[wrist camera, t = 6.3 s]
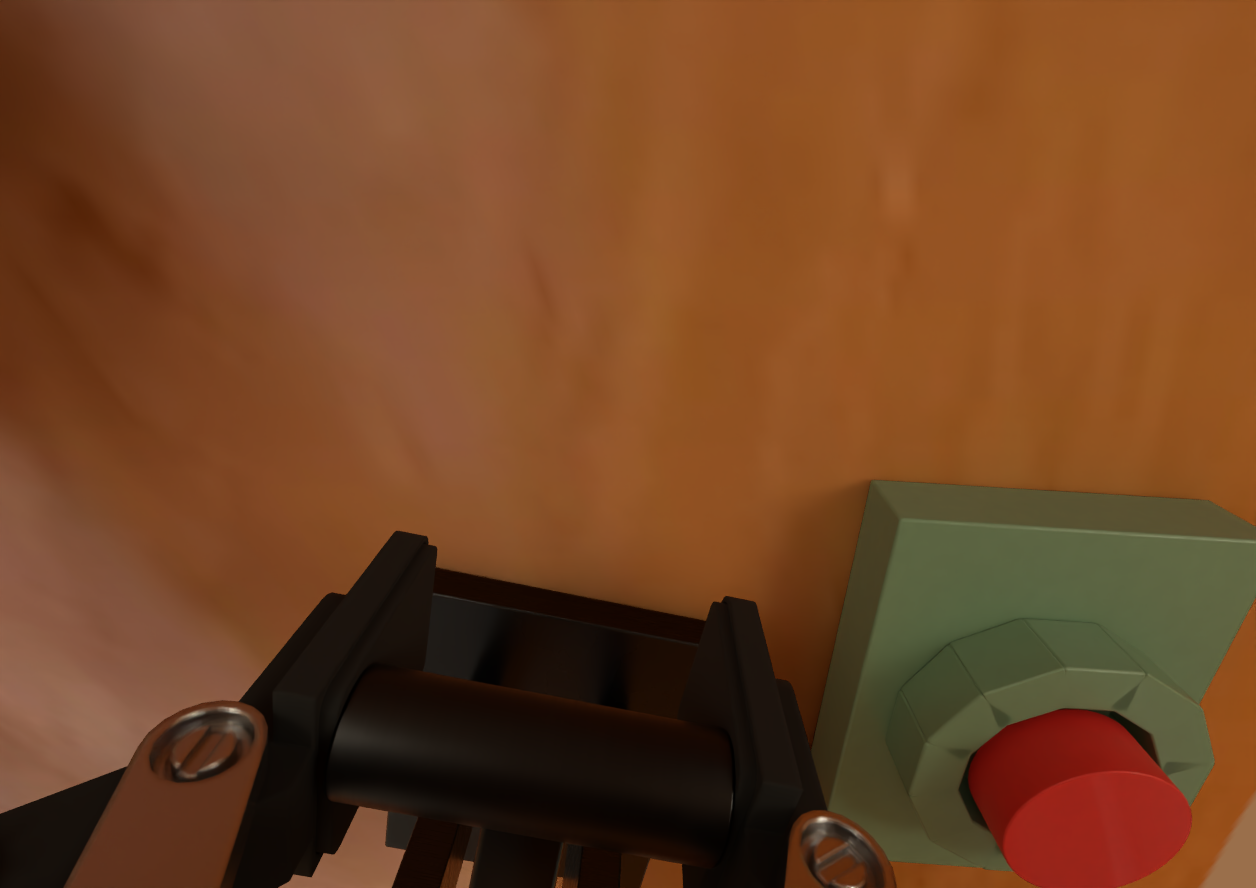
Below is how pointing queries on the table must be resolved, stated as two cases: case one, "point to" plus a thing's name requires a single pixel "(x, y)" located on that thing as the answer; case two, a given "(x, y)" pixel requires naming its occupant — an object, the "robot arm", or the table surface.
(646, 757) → the lever
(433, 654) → the bracket
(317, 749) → the robot arm
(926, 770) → the switch block
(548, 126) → the table surface
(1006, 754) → the button
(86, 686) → the table surface
